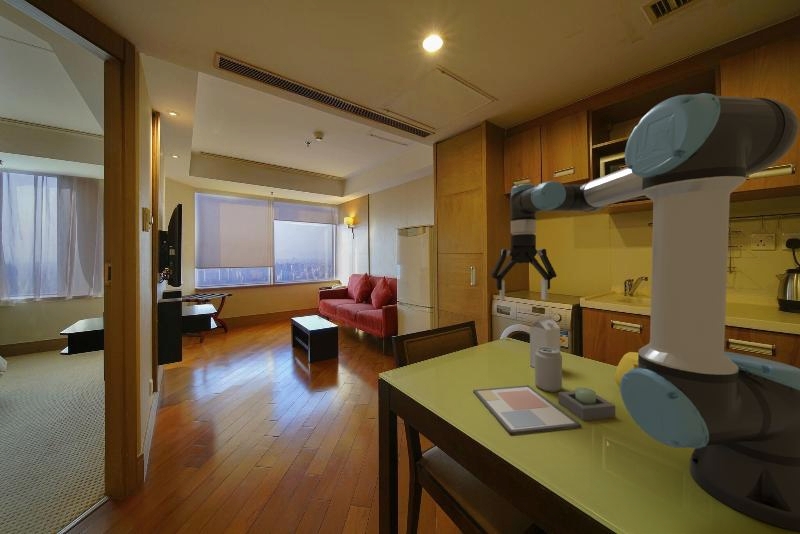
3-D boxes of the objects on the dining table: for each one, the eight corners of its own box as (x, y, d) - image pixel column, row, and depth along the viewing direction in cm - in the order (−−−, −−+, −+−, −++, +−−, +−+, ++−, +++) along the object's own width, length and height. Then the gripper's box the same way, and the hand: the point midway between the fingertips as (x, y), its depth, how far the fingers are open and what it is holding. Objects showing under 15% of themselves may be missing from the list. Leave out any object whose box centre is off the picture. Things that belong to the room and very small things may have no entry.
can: (555, 382, 95) (555, 345, 95) (566, 393, 88) (566, 353, 87) (531, 382, 96) (531, 345, 96) (540, 392, 89) (540, 352, 88)
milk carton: (529, 366, 110) (529, 315, 109) (543, 363, 113) (543, 313, 112) (546, 372, 103) (546, 318, 103) (560, 369, 106) (560, 316, 106)
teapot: (682, 394, 86) (683, 350, 86) (668, 418, 74) (669, 367, 73) (625, 379, 97) (625, 340, 96) (604, 398, 84) (604, 354, 84)
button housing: (615, 417, 74) (615, 405, 74) (582, 420, 73) (582, 408, 73) (587, 400, 83) (587, 389, 83) (558, 403, 82) (558, 392, 82)
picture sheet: (581, 427, 70) (581, 424, 70) (510, 435, 68) (510, 432, 68) (528, 387, 92) (528, 385, 92) (473, 392, 90) (473, 389, 90)
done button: (600, 407, 76) (600, 394, 76) (584, 409, 76) (584, 396, 75) (586, 399, 81) (586, 386, 81) (571, 400, 80) (571, 388, 80)
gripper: (556, 234, 99) (556, 297, 100) (481, 235, 99) (481, 298, 100) (568, 232, 91) (568, 301, 92) (487, 234, 92) (487, 302, 93)
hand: (523, 299), depth 96 cm, fingers open, 13 cm apart
